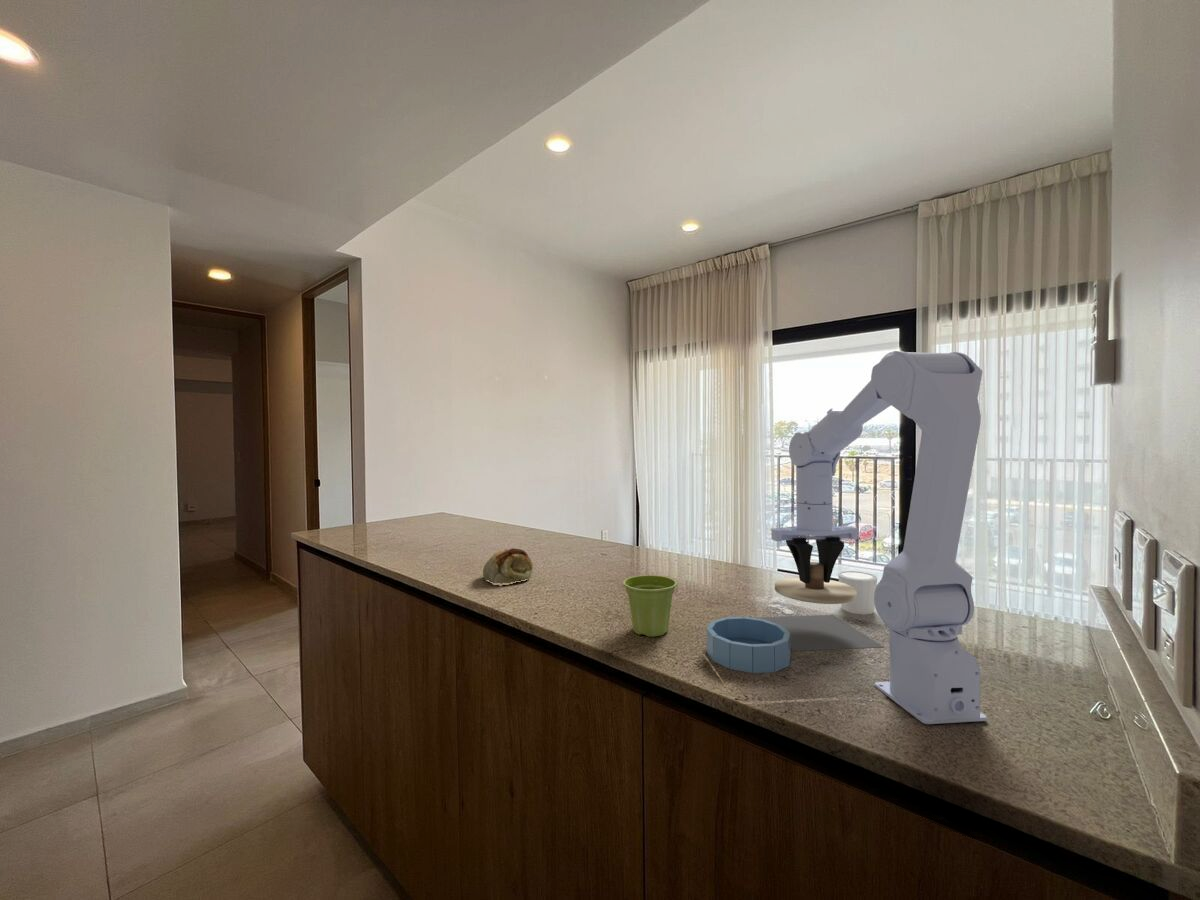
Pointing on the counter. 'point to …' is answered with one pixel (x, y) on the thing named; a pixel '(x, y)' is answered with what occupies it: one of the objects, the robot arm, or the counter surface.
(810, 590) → the lid
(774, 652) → the bowl
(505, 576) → the pastry
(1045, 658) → the counter surface
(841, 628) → the mat
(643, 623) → the plant pot
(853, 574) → the white cup
